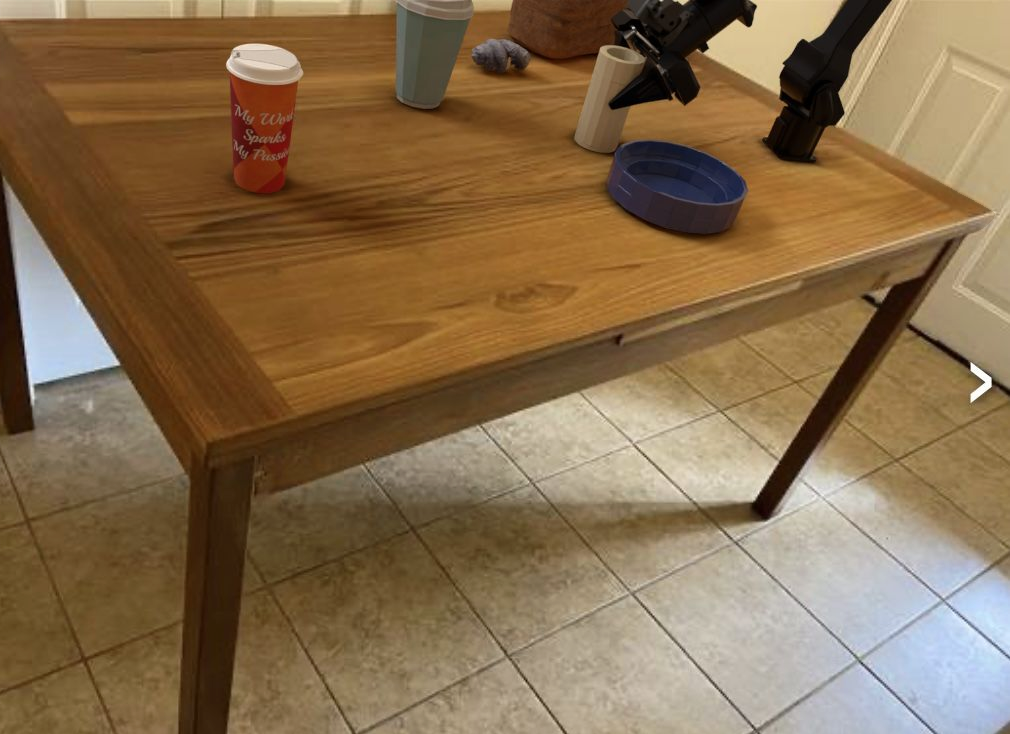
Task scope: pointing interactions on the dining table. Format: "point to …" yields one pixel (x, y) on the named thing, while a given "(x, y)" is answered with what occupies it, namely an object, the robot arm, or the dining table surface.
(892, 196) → the dining table surface
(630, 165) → the bowl
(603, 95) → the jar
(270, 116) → the paper cup
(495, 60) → the grey croissant
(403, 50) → the disposable coffee cup
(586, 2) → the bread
